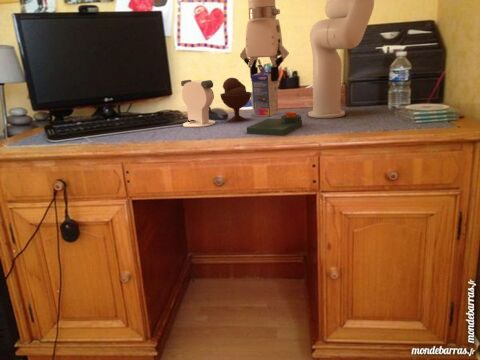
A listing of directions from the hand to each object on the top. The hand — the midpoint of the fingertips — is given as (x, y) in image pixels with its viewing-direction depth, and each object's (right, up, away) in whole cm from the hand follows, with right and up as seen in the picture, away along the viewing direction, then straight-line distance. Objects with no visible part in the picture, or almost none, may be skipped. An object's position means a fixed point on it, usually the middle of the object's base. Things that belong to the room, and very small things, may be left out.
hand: (264, 80), depth 115 cm
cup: (+2, -5, +32) cm, 32 cm away
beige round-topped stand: (-21, -10, +22) cm, 32 cm away
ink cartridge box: (+1, -10, +3) cm, 10 cm away
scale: (+4, -14, +6) cm, 15 cm away
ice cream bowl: (-8, -8, +24) cm, 27 cm away
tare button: (+9, -10, +7) cm, 15 cm away
